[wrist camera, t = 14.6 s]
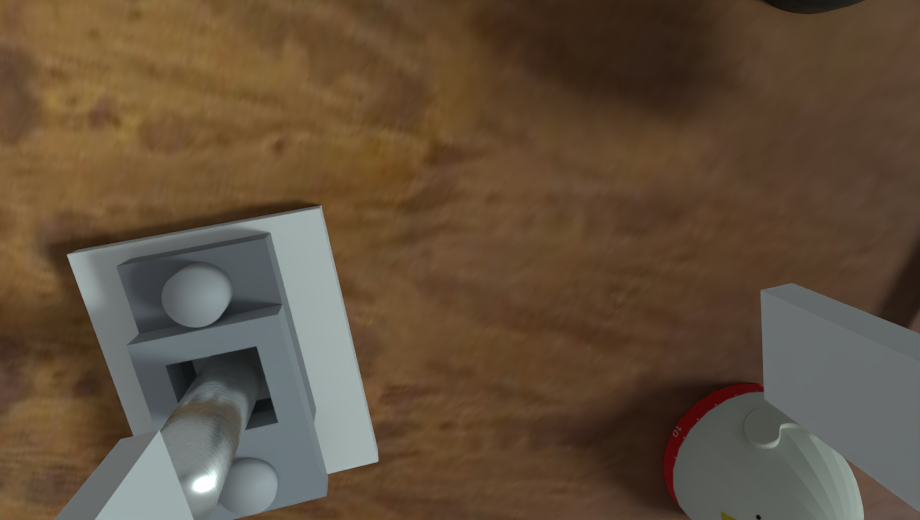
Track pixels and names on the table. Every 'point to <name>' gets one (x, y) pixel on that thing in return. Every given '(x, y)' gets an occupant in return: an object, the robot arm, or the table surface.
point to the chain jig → (238, 345)
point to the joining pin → (212, 425)
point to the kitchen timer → (755, 464)
